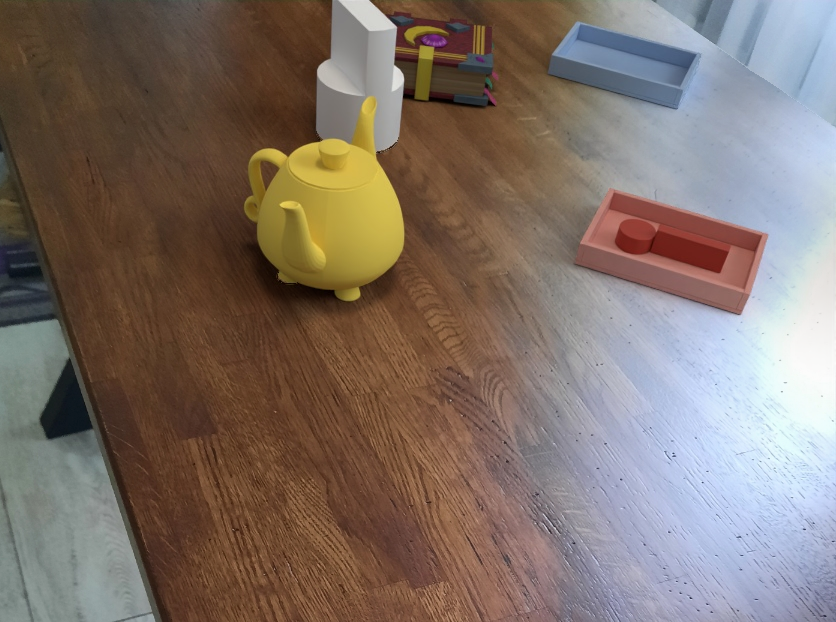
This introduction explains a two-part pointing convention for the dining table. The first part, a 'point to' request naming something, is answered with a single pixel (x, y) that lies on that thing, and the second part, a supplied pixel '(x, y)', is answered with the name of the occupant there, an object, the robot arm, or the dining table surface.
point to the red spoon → (671, 244)
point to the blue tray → (625, 64)
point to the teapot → (328, 212)
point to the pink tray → (665, 272)
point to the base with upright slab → (359, 74)
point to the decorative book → (444, 58)
